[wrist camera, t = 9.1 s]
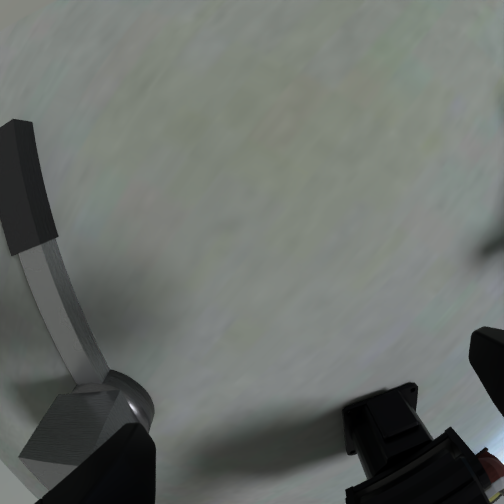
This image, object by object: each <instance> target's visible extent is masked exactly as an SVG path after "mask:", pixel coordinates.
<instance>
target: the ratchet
mask: <svg viewBox="0 0 504 504" xmlns="http://www.w3.org/2000/svg"><path fill="white" fill-rule="evenodd" d="M0 218H1V222H2V226H3V229H4V233H5V236H6V240H7V243H8V246H9V250H10V253H11V256H13V255H16V254H18V255H19V258H20V261H21V264H22V267H23V270H24V272H25V275H26V278H27V281H28V283H29V286H30V289H31V291H32V294H33V296H34V299H35V301H36V303H37V306H38V308H39V310H40V313H41V315H42V317H43V320H44V322H45V324H46V326H47V328H48V330H49V333H50V335H51V337H52V339H53V341H54V343H55V345H56V347H57V349H58V351H59V353H60V355H61V357H62V359H63V360H64V362H65V364H66V366H67V368H68V370H69V371H70V373H71V375H72V377H73V379H74V380H75V382H76V384H77V385H76V387H75V388H74V390H73V391H72V393H71V394H73V393H88V392H100V391H111V390H120V389H121V391H122V393H123V394H124V396H125V398H126V400H127V401H128V403H129V405H130V406H131V408H132V410H133V411H134V413H135V415H136V416H137V418H138V419H139V421H140V423H141V424H142V425H143V426H144V427H145V429H146V431H147V432H148V434H149V430H150V427H151V424H152V420H153V417H154V404H153V402H152V399H151V397H150V396H149V394H148V393H147V392H146V390H145V389H144V388H143V387H142V386H141V385H140V384H138V383H137V382H136V381H135V380H133V379H132V378H130V377H128V376H126V375H124V374H122V373H120V372H117V371H114V370H110V369H109V367H108V365H107V363H106V361H105V359H104V357H103V355H102V353H101V351H100V349H99V347H98V345H97V343H96V341H95V339H94V336H93V334H92V332H91V330H90V328H89V326H88V323H87V321H86V319H85V316H84V314H83V312H82V309H81V307H80V305H79V302H78V300H77V297H76V295H75V292H74V290H73V287H72V285H71V282H70V279H69V277H68V274H67V271H66V269H65V266H64V263H63V260H62V257H61V254H60V251H59V248H58V245H57V242H56V239H55V238H57V237H58V233H57V230H56V227H55V223H54V220H53V216H52V213H51V209H50V205H49V202H48V198H47V194H46V190H45V186H44V181H43V177H42V173H41V168H40V163H39V158H38V153H37V148H36V142H35V136H34V130H33V123H32V122H29V121H23V120H17V119H12V120H11V121H9V122H8V123H6V124H5V125H3V126H2V127H0Z"/></svg>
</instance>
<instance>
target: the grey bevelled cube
mask: <svg viewBox="0 0 504 504" xmlns="http://www.w3.org/2000/svg"><path fill="white" fill-rule="evenodd" d="M132 422H139V423H140V421H139V419H138V418H137V416H136V415H135V413H134V411H133V410H132V408H131V406H130V405H129V403H128V401H127V400H126V398H125V396H124V394H123V393H122V391H121V389H120V390H111V391H100V392H88V393H73V394H59V395H58V396H57V398H56V399H55V401H54V402H53V404H52V405H51V407H50V408H49V410H48V411H47V413H46V414H45V416H44V417H43V419H42V420H41V422H40V423H39V425H38V426H37V428H36V429H35V431H34V433H33V434H32V436H31V437H30V439H29V440H28V442H27V444H26V445H25V447H24V448H23V450H22V452H21V453H20V455H19V457H18V458H19V459H20V460H21V461H22V462H23V463H24V464H25V466H26V467H27V468H28V469H29V470H30V471H31V472H32V473H33V474H34V475H35V476H36V477H37V478H38V480H39V481H40V482H41V483H42V484H43V485H44V486H45V487H46V488H47V489H48V490H49V491H50V490H51V489H52V488H54V487H55V486H56V485H57V484H58V483H59V482H60V481H62V480H63V479H64V478H65V477H66V476H67V475H69V474H70V473H71V472H72V471H73V470H74V469H75V468H77V467H78V466H79V465H80V464H81V463H82V462H83V461H84V460H86V459H87V458H88V457H89V456H90V455H91V454H92V453H93V452H95V451H96V450H97V449H98V448H99V447H100V446H101V445H102V444H103V443H105V442H106V441H107V440H108V439H109V438H110V437H111V436H112V435H113V434H114V433H116V432H117V431H118V430H119V429H120V428H121V427H122V426H123V425H124V424H126V423H132Z"/></svg>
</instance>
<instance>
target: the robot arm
mask: <svg viewBox="0 0 504 504" xmlns="http://www.w3.org/2000/svg"><path fill="white" fill-rule="evenodd" d="M469 361H470V364H471V365H472V367H473V369H474V370H475V372H476V374H477V375H478V377H479V379H480V381H481V382H482V384H483V386H484V387H485V389H486V391H487V393H488V394H489V396H490V398H491V399H492V401H493V403H494V404H495V406H496V407H497V408H498V410H499V411H500V413H501V414H502V416H503V417H504V330H501V329H496V328H491V327H486V326H484V327H481V328H479V329H477V330H475V331H474V332H473V333H472V335H471V341H470V349H469ZM417 395H418V386H417V385H416V383H410V384H407V385H405V386H402V387H400V388H397V389H395V390H392V391H390V392H387V393H384V394H382V395H379V396H376V397H373V398H370V399H367V400H365V401H362V402H359V403H356V404H353V405H349V406H347V407H345V408H344V409H343V410H342V415H343V424H344V433H345V443H346V451H347V454H348V455H354V454H358V457H359V459H360V462H361V464H362V467H363V470H364V472H365V475H366V477H367V480H366V481H364V482H362V483H360V484H358V485H356V486H354V487H353V486H352V487H350V488H348V489H346V490H345V491H346V498H345V500H346V504H491V503H490V501H489V499H488V497H487V495H486V493H485V492H486V491H488V490H489V489H490V488H491V487H492V485H491V481H490V479H489V477H488V475H487V473H486V471H485V469H484V467H483V466H482V464H481V463H480V461H479V460H478V458H477V457H476V456H475V454H474V453H473V452H472V451H471V450H470V448H469V447H468V446H467V445H466V444H465V442H464V441H463V440H462V439H461V438H460V437H459V436H458V434H457V433H456V432H455V431H454V430H453V429H452V427H449V428H448V429H446V430H445V432H444V433H443V434H441V435H440V436H439V437H437V438H436V439H433V438H432V436H431V435H430V433H429V432H428V430H427V428H426V427H425V425H424V424H423V422H422V421H421V419H420V418H419V416H418V415H417V413H416V405H417ZM349 411H350V412H349ZM155 493H156V447H155V443H154V441H153V440H152V438H151V437H150V435H149V434H148V432H147V431H146V429H145V427H144V426H143V425H142V424H141V423H139V422H132V423H126V424H124V425H123V426H122V427H121V428H120V429H119V430H118V431H117V432H116V433H114V434H113V435H112V436H111V437H110V438H109V439H108V440H107V441H106V442H105V443H103V444H102V445H101V446H100V447H99V448H98V449H97V450H96V451H95V452H93V453H92V454H91V455H90V456H89V457H88V458H87V459H86V460H84V461H83V462H82V463H81V464H80V465H79V466H78V467H77V468H75V469H74V470H73V471H72V472H71V473H70V474H69V475H67V476H66V477H65V478H64V479H63V480H62V481H60V482H59V483H58V484H57V485H56V486H55V487H54V488H52V489H51V490H50V491H49V492H48V493H46V494H45V495H44V496H43V497H42V499H39V500H38V501H37V502H36V503H35V504H155Z"/></svg>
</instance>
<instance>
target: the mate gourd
mask: <svg viewBox="0 0 504 504" xmlns="http://www.w3.org/2000/svg"><path fill="white" fill-rule="evenodd" d="M487 451H488V448H486V447H485V448H484V449H483V450H481V451H480V452H479V453H478V454H476V455H475V456H476V457H477V458H478V460H479V461H480V463H481V464H482V466H483V467H484V469H485V471H486V473H487V475H488V477H489V479H490V481H491V485H492V487H491V488H490V489H489V490H488V491H486V492H485V493H486V495H487V497H488V499H489V501H490V503H491V504H493V503H494V502H495V501H497V500H498V499H499V498H500V497H501V496H502V495H503V496H504V465H503V464H502V463H501V462H500V461H499V459H498V458H497V457H495V456H494V455H492V454H490V453H489V452H487Z"/></svg>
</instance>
